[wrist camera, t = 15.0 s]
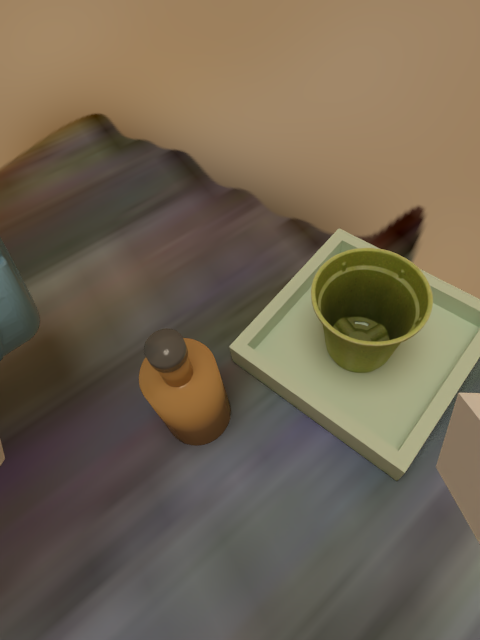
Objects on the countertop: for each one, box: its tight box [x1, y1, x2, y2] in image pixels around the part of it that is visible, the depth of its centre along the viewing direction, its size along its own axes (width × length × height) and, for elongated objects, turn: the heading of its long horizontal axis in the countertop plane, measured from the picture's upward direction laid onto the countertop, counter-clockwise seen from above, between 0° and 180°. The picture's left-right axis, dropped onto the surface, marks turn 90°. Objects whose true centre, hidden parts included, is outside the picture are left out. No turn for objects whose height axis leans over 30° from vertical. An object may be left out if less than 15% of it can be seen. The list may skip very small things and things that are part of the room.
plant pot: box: [311, 248, 433, 373], centre depth 39 cm, size 9×9×9 cm
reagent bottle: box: [139, 329, 231, 445], centre depth 36 cm, size 6×6×13 cm
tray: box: [229, 229, 480, 481], centre depth 42 cm, size 18×18×3 cm
